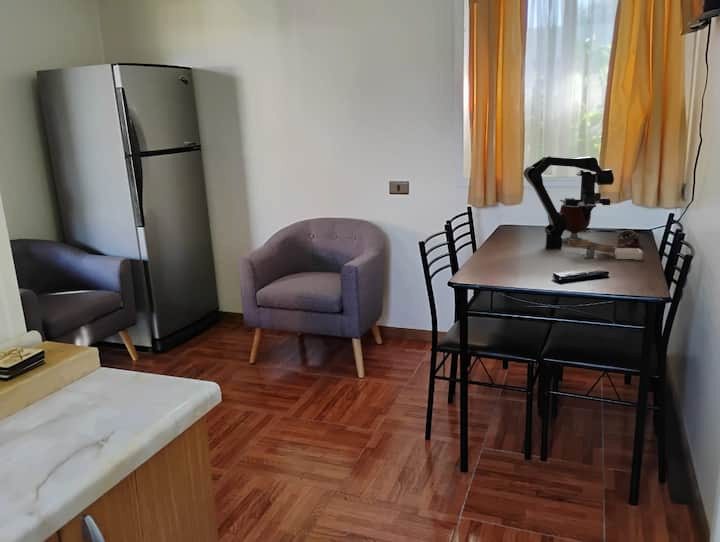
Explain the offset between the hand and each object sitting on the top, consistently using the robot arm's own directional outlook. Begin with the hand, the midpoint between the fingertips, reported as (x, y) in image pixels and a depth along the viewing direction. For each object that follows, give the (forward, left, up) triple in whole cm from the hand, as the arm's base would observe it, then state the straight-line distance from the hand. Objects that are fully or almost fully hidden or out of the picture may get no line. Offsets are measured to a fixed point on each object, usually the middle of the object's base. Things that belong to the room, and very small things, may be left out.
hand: (585, 220), depth 271 cm
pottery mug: (+19, +4, -12) cm, 23 cm away
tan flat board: (-1, -18, -8) cm, 19 cm away
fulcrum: (-1, -22, -12) cm, 25 cm away
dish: (+13, -22, -12) cm, 28 cm away
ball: (+16, -22, -10) cm, 29 cm away
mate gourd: (-3, +16, -12) cm, 20 cm away
